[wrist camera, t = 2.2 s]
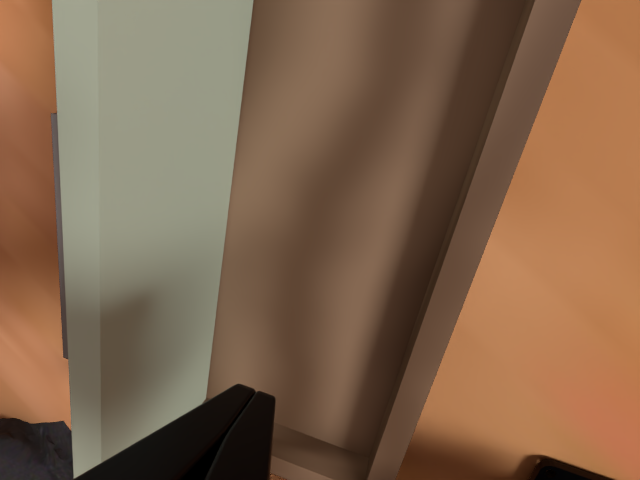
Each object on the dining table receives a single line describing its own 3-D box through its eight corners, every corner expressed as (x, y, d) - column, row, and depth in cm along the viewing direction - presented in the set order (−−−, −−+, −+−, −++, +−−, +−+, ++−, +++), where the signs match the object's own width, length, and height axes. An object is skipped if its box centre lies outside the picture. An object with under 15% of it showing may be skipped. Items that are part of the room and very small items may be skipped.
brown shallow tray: (593, -94, 13) (638, -148, 10) (387, 463, 23) (381, 516, 20) (254, -138, 15) (212, -193, 12) (197, 392, 25) (166, 431, 22)
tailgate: (266, -111, 14) (94, -324, 7) (205, 398, 23) (101, 537, 16) (220, -118, 15) (9, -328, 7) (177, 388, 24) (63, 519, 16)
